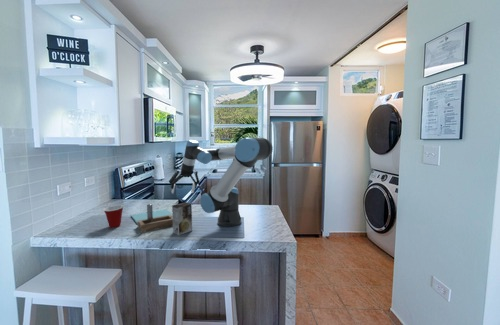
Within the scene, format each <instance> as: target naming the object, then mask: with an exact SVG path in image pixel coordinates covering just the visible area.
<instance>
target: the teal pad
mask: <svg viewBox="0 0 500 325" xmlns="http://www.w3.org/2000/svg"><path fill="white" fill-rule="evenodd" d="M166 215H172V216H173V213H172V212H171V211H170V210H168V209H166V208H163V209H158V210H153V218H155V217H161V216H166ZM130 217H131V218H132V219H133V221H134V222H135V223H136V225H138V221H139V220H145V219H147V211H146V212H139V213H134V214H130Z"/></svg>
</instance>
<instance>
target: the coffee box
mask: <svg viewBox="0 0 500 325" xmlns="http://www.w3.org/2000/svg"><path fill="white" fill-rule="evenodd" d="M171 207H172V209H171V210H172V212H171V213H172V214H173V226H172V233H173V234H175V235H177V236H181V235H184V234H187V233H190V232H192V231H193V212H192V203H189V202H185V201H184V202H181V203H175V204H173V205H171Z"/></svg>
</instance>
